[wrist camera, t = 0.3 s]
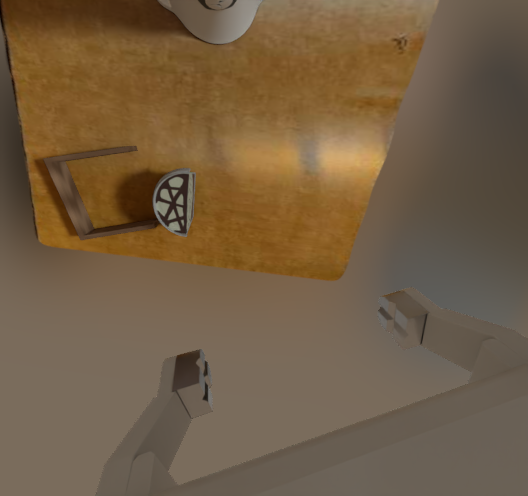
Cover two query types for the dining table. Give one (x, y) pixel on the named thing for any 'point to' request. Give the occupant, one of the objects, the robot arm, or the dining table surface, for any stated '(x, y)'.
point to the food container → (175, 200)
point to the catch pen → (73, 198)
